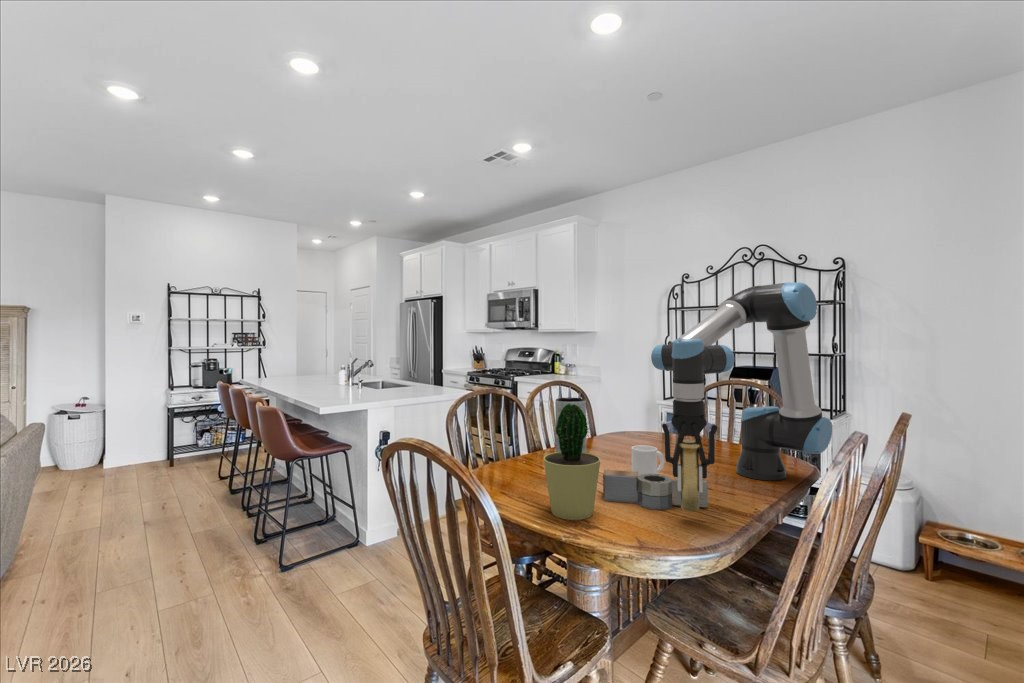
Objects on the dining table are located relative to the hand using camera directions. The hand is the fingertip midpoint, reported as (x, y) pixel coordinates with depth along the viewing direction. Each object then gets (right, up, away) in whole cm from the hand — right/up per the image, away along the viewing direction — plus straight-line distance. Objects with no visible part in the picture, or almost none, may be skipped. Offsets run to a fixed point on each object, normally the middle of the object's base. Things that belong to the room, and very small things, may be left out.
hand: (689, 489), depth 122 cm
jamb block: (-13, -8, +19) cm, 25 cm away
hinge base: (-9, -8, +15) cm, 19 cm away
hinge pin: (0, -5, 0) cm, 5 cm away
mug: (0, -8, +38) cm, 39 cm away
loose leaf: (0, -8, +12) cm, 15 cm away
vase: (-26, -8, +36) cm, 45 cm away
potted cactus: (-29, -9, +8) cm, 31 cm away
